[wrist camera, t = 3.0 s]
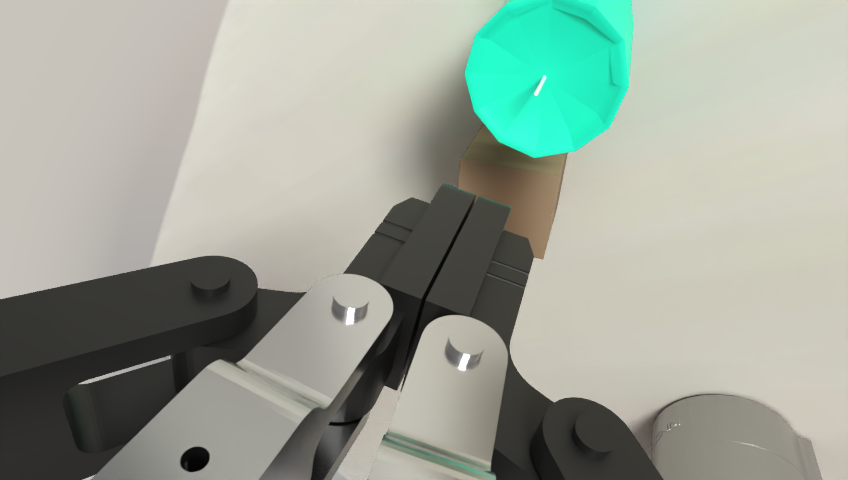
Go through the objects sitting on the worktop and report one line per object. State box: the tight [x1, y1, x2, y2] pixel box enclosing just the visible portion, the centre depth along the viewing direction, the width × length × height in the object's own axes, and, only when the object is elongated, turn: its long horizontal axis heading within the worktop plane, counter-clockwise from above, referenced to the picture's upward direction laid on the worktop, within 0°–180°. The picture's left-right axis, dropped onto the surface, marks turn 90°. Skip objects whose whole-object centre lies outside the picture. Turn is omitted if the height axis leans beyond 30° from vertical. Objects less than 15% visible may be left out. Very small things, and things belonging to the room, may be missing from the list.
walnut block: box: [458, 124, 568, 259], centre depth 31 cm, size 5×5×6 cm
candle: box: [464, 0, 633, 158], centre depth 24 cm, size 6×6×12 cm
